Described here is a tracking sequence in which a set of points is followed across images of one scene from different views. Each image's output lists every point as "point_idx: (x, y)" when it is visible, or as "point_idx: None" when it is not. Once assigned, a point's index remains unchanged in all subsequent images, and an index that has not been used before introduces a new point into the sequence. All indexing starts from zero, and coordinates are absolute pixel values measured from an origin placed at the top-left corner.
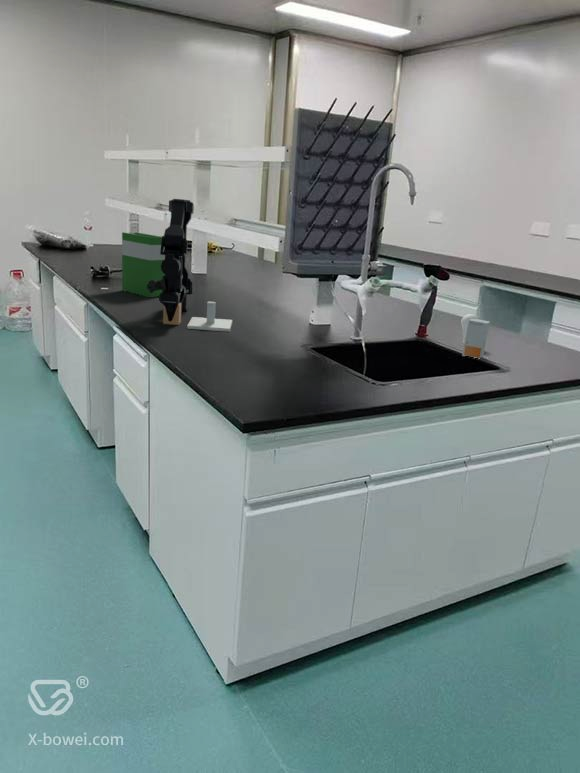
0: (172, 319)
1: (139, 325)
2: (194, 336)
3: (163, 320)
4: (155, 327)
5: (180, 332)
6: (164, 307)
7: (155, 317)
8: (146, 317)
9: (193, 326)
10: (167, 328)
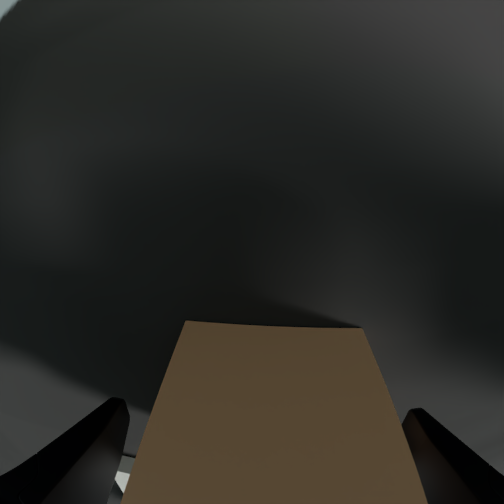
0: (124, 433)
1: (28, 91)
2: (4, 437)
3: (176, 345)
4: (17, 259)
5: (14, 405)
6: (132, 495)
7: (492, 203)
8: (476, 99)
9: (119, 484)
10: (41, 351)
